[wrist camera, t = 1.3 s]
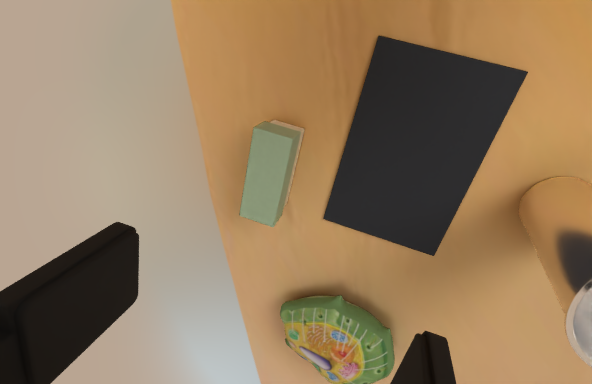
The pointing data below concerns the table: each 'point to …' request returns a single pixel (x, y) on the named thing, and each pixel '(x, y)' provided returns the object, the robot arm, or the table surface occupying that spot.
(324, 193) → the table surface
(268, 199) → the green and beige block
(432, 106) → the desk mat
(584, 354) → the metal cup with straw
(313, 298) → the educational model
